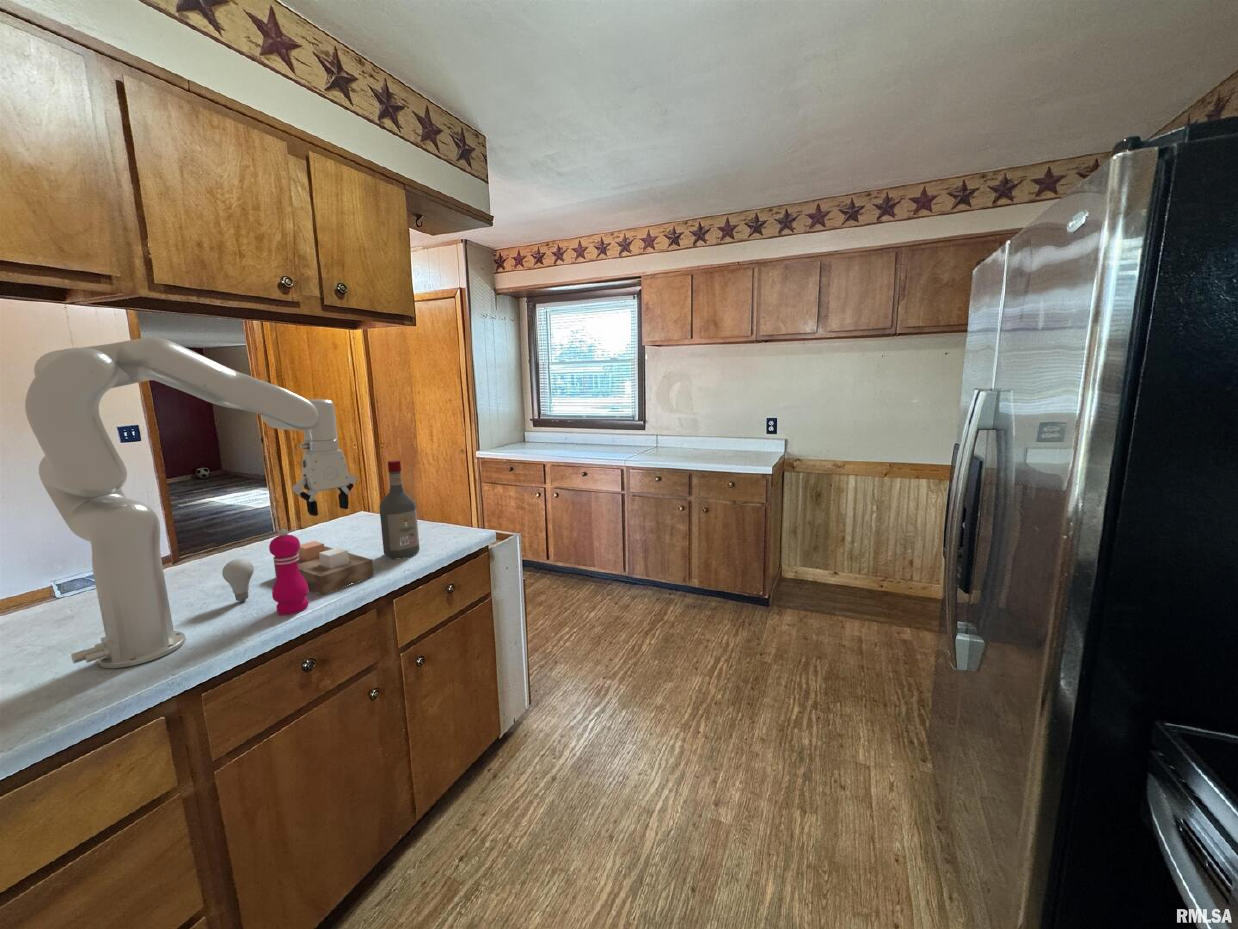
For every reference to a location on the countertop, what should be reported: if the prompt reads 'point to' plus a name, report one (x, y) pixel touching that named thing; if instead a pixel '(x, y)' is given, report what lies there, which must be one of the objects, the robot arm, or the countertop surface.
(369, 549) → the countertop surface
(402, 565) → the countertop surface
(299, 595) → the pepper mill
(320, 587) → the block
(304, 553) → the orange cube
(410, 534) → the liquor
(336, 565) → the white cube
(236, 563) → the lightbulb
